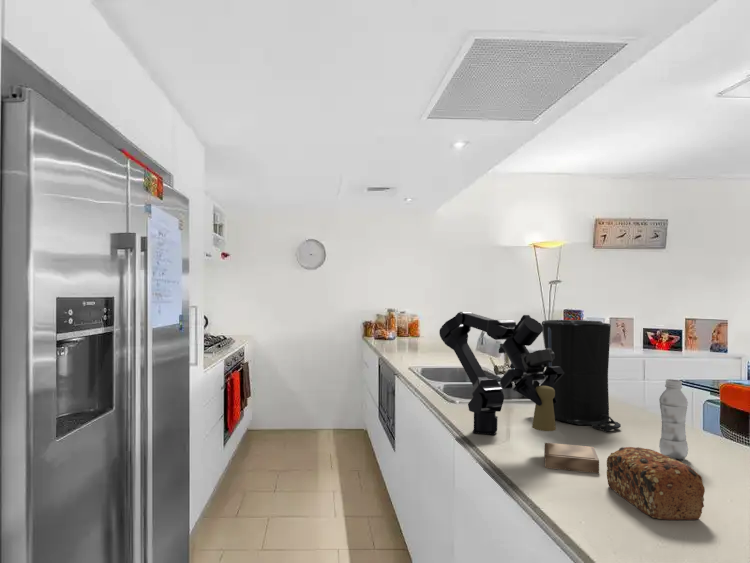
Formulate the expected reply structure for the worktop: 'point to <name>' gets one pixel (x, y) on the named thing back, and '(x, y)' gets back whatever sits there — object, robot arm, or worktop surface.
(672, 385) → the plastic bottle
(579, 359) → the coffee maker
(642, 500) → the bread
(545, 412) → the cork
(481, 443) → the worktop surface
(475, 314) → the robot arm
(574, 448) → the plate
